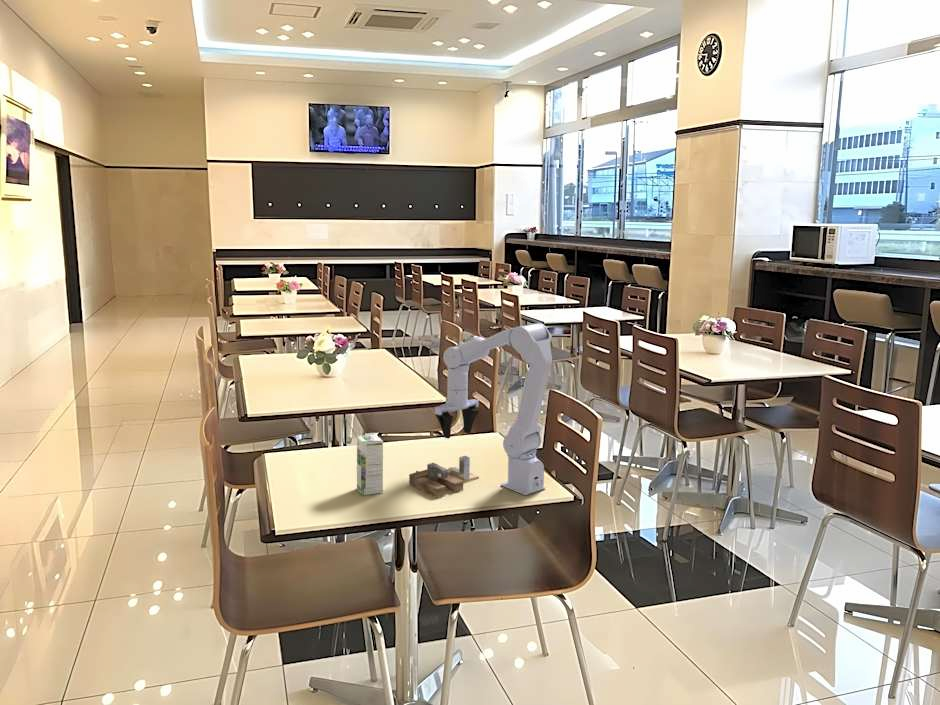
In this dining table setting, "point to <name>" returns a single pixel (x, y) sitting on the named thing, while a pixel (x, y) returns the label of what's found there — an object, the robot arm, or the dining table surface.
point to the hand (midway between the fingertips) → (457, 435)
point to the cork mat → (471, 477)
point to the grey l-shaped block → (461, 468)
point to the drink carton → (369, 464)
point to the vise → (435, 481)
